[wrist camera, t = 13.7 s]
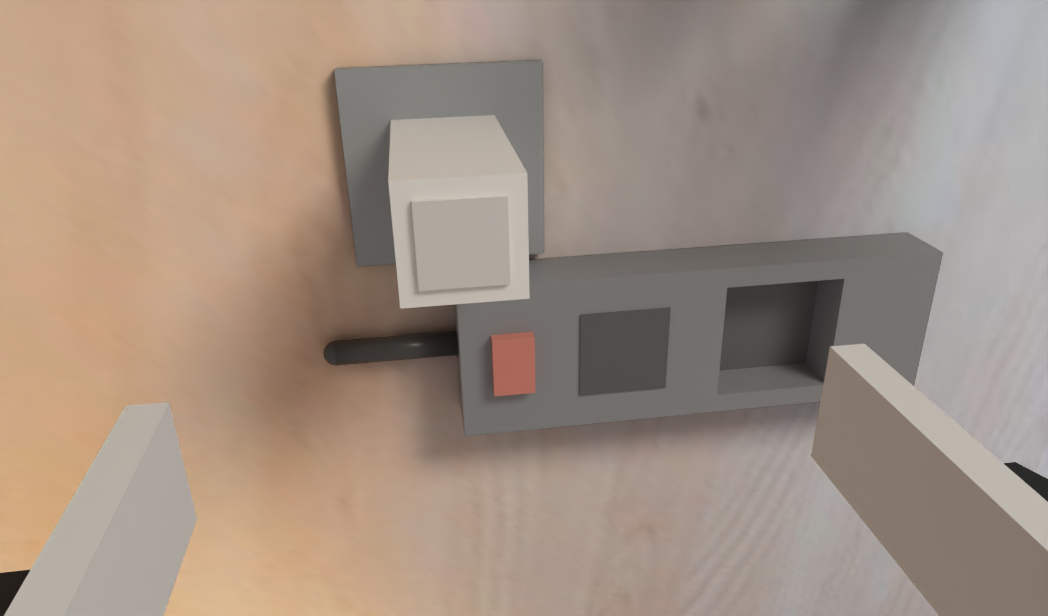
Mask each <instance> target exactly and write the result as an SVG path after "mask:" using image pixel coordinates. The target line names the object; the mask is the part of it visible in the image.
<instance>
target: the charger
mask: <svg viewBox="0 0 1048 616" xmlns="http://www.w3.org/2000/svg"><path fill="white" fill-rule="evenodd" d="M388 184H389V195H390V205H391V216H392V227H393V237H394V248H395V259H396V269H397V280H398V291H399V301H400V309H402V308H415V307H428V306H441V305H454V304H467V303H480V302H493V301H506V300H519V299H530V293H529V236H528V180H527V172H526V170H525V168H524V166H523V164H522V163H521V161H520V159H519V157H518V156H517V154H516V152H515V150H514V149H513V147H512V145H511V143H510V142H509V140H508V138H507V136H506V134H505V133H504V131H503V129H502V127H501V126H500V124H499V122H498V120H497V119H496V117H495V115H485V116H464V117H443V118H422V119H401V120H391V126H390V150H389V175H388Z"/></svg>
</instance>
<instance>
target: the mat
mask: <svg viewBox="0 0 1048 616" xmlns="http://www.w3.org/2000/svg"><path fill="white" fill-rule="evenodd" d="M334 74H335V82H336V91H337V99H338V108H339V117H340V125H341V134H342V142H343V151H344V159H345V168H346V176H347V185H348V194H349V202H350V211H351V219H352V228H353V236H354V245H355V254H356V262H357V267H358V266H372V265H386V264H396V259H395V248H394V237H393V227H392V216H391V205H390V195H389V184H388V175H389V150H390V126H391V120H401V119H422V118H443V117H464V116H485V115H495V117H496V119H497V120H498V122H499V124H500V126H501V127H502V129H503V131H504V133H505V134H506V136H507V138H508V140H509V142H510V143H511V145H512V147H513V149H514V150H515V152H516V154H517V156H518V157H519V159H520V161H521V163H522V164H523V166H524V168H525V170H526V172H527V180H528V236H529V254H542V253H545V252H544V145H543V61H541V60H524V61H499V62H474V63H449V64H424V65H400V66H375V67H350V68H335V69H334Z"/></svg>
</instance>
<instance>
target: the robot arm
mask: <svg viewBox="0 0 1048 616" xmlns="http://www.w3.org/2000/svg"><path fill="white" fill-rule="evenodd" d="M811 456H812V458H813V459H814V460H815V461H816V463H817V464H818V465H819V466H820V468H821V469H822V470H823V471H824V473H825V474H826V475H827V476H828V478H829V479H830V480H831V481H832V483H833V484H834V485H835V486H836V488H837V489H838V490H839V491H840V493H841V494H842V495H843V496H844V498H845V499H846V500H847V501H848V503H849V504H850V505H851V506H852V508H853V509H854V510H855V511H856V513H857V514H858V515H859V516H860V518H861V519H862V520H863V521H864V523H865V524H866V525H867V526H868V527H869V529H870V530H871V531H872V532H873V534H874V535H875V536H876V537H877V539H878V540H879V541H880V542H881V544H882V545H883V546H884V547H885V549H886V550H887V551H888V552H889V554H890V555H891V556H892V557H893V559H894V560H895V561H896V562H897V564H898V565H899V566H900V567H901V569H902V570H903V571H904V572H905V574H906V575H907V576H908V577H909V579H910V580H911V581H912V582H913V584H914V585H915V586H916V587H917V589H918V590H919V591H920V592H921V594H922V595H923V596H924V597H925V599H926V600H927V601H928V602H929V604H930V605H931V606H932V607H933V608H934V610H935V611H936V612H937V613H938V615H939V616H1048V479H1047V478H1045V477H1043V476H1041V475H1039V474H1037V473H1035V472H1033V471H1031V470H1029V469H1027V468H1025V467H1023V466H1022V465H1020V464H1018V463H1016V462H1013V463H1002V462H1001V461H1000V460H999V459H998V458H996V457H995V456H994V455H993V454H992V453H991V452H989V451H988V450H987V449H986V448H985V447H984V446H982V445H981V444H980V443H979V442H978V441H977V440H976V439H974V438H973V437H972V436H971V435H970V434H969V433H967V432H966V431H965V430H964V429H963V428H962V427H960V426H959V425H958V424H957V423H956V422H955V421H954V420H952V419H951V418H950V417H949V416H948V415H947V414H945V413H944V412H943V411H942V410H941V409H940V408H939V407H937V406H936V405H935V404H934V403H933V402H932V401H930V400H929V399H928V398H927V397H926V396H925V395H923V394H922V393H921V392H920V391H919V390H918V389H917V388H915V387H914V386H913V385H912V384H911V383H910V382H908V381H907V380H906V379H905V378H904V377H903V376H901V375H900V374H899V373H898V372H897V371H896V370H895V369H893V368H892V367H891V366H890V365H889V364H888V363H886V362H885V361H884V360H883V359H882V358H881V357H879V356H878V355H877V354H876V353H875V352H874V351H873V350H871V349H870V348H869V347H868V346H867V345H866V344H853V345H841V346H830V349H829V355H828V361H827V367H826V373H825V378H824V384H823V390H822V396H821V402H820V408H819V414H818V419H817V425H816V431H815V437H814V443H813V449H812V454H811ZM196 520H197V518H196V513H195V509H194V505H193V501H192V497H191V492H190V488H189V484H188V480H187V476H186V472H185V467H184V463H183V459H182V455H181V451H180V446H179V442H178V438H177V434H176V430H175V425H174V421H173V417H172V413H171V409H170V404H169V402H164V403H152V404H140V405H128V406H125V408H124V410H123V411H122V413H121V415H120V417H119V418H118V420H117V422H116V423H115V425H114V427H113V429H112V430H111V432H110V434H109V436H108V437H107V439H106V441H105V442H104V444H103V446H102V448H101V449H100V451H99V453H98V454H97V456H96V458H95V460H94V461H93V463H92V465H91V467H90V468H89V470H88V472H87V473H86V475H85V477H84V479H83V480H82V482H81V484H80V485H79V487H78V489H77V491H76V492H75V494H74V496H73V498H72V499H71V501H70V503H69V504H68V506H67V508H66V510H65V511H64V513H63V515H62V516H61V518H60V520H59V522H58V523H57V525H56V527H55V529H54V530H53V532H52V534H51V535H50V537H49V539H48V541H47V542H46V544H45V546H44V548H43V549H42V551H41V553H40V554H39V556H38V558H37V560H36V561H35V563H34V565H33V566H32V568H31V570H24V571H15V572H6V573H0V616H164V613H165V610H166V607H167V604H168V601H169V598H170V595H171V592H172V590H173V587H174V584H175V581H176V578H177V575H178V572H179V569H180V566H181V563H182V561H183V558H184V555H185V552H186V549H187V546H188V543H189V540H190V537H191V534H192V532H193V529H194V526H195V523H196Z"/></svg>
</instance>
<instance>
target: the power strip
mask: <svg viewBox="0 0 1048 616" xmlns="http://www.w3.org/2000/svg"><path fill="white" fill-rule="evenodd" d="M942 255H943V252H941V251H940V250H938V249H936V248H934V247H932V246H931V245H929V244H927V243H925V242H924V241H922V240H920V239H918V238H917V237H915V236H913V235H911V234H909V233H894V234H880V235H866V236H852V237H838V238H824V239H810V240H796V241H782V242H768V243H753V244H739V245H725V246H711V247H697V248H683V249H669V250H655V251H641V252H627V253H613V254H599V255H585V256H571V257H557V258H543V259H529V293H530V299H519V300H506V301H493V302H480V303H467V304H454V306H455V322H456V331H453V332H441V333H429V334H417V335H404V336H392V337H380V338H368V339H355V340H343V341H333V342H330V343H329V344H328V345H327V346H326V347H325V349H324V358H325V360H326V361H327V362H328V363H329V364H331V365H346V364H358V363H370V362H382V361H393V360H405V359H417V358H428V357H440V356H452V355H458V370H459V386H460V402H461V411H462V418H463V425H464V433H465V436H473V435H483V434H493V433H503V432H514V431H524V430H534V429H544V428H554V427H565V426H575V425H585V424H595V423H605V422H616V421H626V420H636V419H646V418H656V417H667V416H677V415H687V414H697V413H708V412H718V411H728V410H738V409H748V408H759V407H769V406H779V405H789V404H799V403H810V402H820V401H821V396H822V390H823V384H824V378H825V373H826V367H827V361H828V355H829V349H830V346H841V345H853V344H866V345H867V346H868V347H869V348H870V349H871V350H873V351H874V352H875V353H876V354H877V355H878V356H879V357H881V358H882V359H883V360H884V361H885V362H886V363H888V364H889V365H890V366H891V367H892V368H893V369H895V370H896V371H897V372H898V373H899V374H900V375H901V376H903V377H904V378H905V379H906V380H907V381H908V382H910V383H911V384H912V385H913V386H914V384H915V379H916V375H917V370H918V365H919V361H920V356H921V351H922V347H923V342H924V338H925V333H926V328H927V324H928V319H929V315H930V310H931V305H932V301H933V296H934V292H935V287H936V282H937V278H938V273H939V269H940V264H941V259H942Z"/></svg>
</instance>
